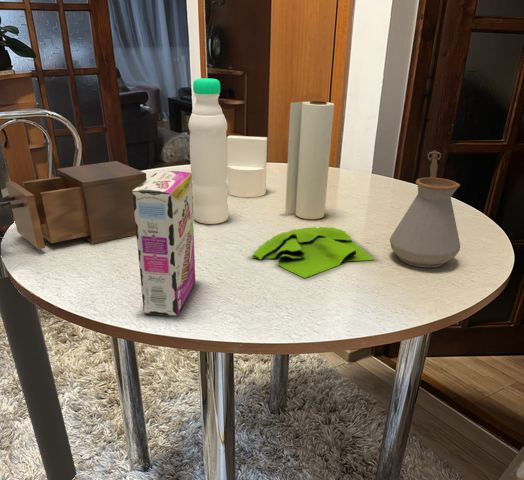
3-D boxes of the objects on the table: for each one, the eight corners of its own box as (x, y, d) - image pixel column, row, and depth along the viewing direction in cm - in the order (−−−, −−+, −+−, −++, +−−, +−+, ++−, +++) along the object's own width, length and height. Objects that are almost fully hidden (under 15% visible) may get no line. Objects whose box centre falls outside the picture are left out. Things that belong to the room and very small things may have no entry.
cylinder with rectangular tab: (268, 188, 124) (269, 135, 117) (263, 198, 116) (264, 142, 110) (231, 185, 124) (231, 133, 118) (224, 195, 117) (223, 140, 110)
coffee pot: (459, 276, 81) (483, 180, 73) (385, 267, 84) (401, 173, 76) (450, 233, 99) (468, 151, 91) (390, 227, 101) (402, 147, 93)
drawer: (9, 255, 82) (-5, 200, 77) (-10, 237, 88) (-24, 185, 84) (98, 236, 90) (90, 186, 85) (74, 221, 97) (66, 173, 92)
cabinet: (92, 244, 89) (82, 182, 84) (66, 226, 97) (56, 168, 91) (151, 231, 96) (146, 173, 90) (123, 215, 103) (116, 160, 98)
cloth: (347, 229, 99) (349, 217, 98) (386, 275, 81) (389, 261, 80) (243, 232, 97) (243, 219, 95) (259, 280, 78) (259, 265, 77)
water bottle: (235, 220, 102) (235, 79, 89) (207, 227, 98) (202, 81, 85) (213, 211, 107) (209, 76, 93) (186, 218, 102) (178, 78, 89)
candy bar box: (179, 317, 68) (171, 192, 59) (143, 315, 68) (129, 190, 59) (198, 282, 77) (193, 170, 68) (165, 280, 77) (156, 168, 69)
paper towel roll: (329, 215, 107) (340, 102, 95) (314, 222, 103) (323, 105, 91) (300, 208, 110) (308, 98, 99) (284, 214, 106) (290, 101, 95)
